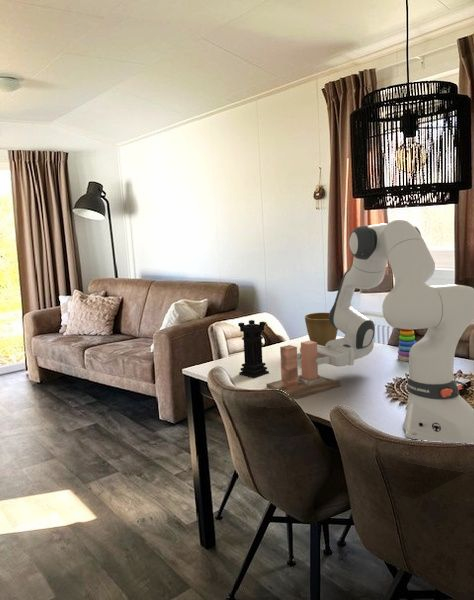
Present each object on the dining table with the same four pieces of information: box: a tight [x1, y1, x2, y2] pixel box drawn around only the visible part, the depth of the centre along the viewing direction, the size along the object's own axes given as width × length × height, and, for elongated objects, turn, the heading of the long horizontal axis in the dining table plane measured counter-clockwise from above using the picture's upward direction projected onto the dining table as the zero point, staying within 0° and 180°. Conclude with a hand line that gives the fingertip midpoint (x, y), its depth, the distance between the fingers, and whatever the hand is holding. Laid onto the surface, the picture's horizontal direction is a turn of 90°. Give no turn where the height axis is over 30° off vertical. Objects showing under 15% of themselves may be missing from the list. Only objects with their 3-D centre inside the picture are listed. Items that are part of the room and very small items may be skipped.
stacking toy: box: [396, 329, 417, 362], centre depth 207 cm, size 8×8×19 cm
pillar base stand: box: [266, 344, 342, 400], centre depth 181 cm, size 16×20×15 cm
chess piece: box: [237, 319, 270, 379], centre depth 198 cm, size 8×8×20 cm
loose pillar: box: [300, 340, 319, 381], centre depth 182 cm, size 4×4×14 cm
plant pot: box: [304, 312, 339, 346], centre depth 225 cm, size 15×15×16 cm
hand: (307, 358), depth 181 cm, fingers open, 8 cm apart
